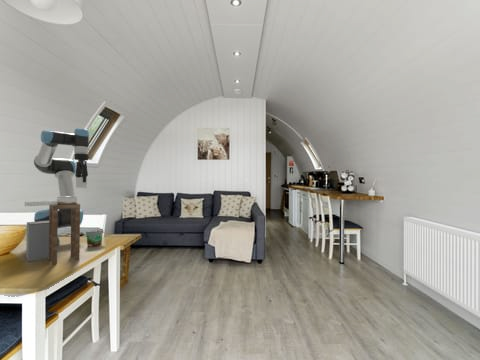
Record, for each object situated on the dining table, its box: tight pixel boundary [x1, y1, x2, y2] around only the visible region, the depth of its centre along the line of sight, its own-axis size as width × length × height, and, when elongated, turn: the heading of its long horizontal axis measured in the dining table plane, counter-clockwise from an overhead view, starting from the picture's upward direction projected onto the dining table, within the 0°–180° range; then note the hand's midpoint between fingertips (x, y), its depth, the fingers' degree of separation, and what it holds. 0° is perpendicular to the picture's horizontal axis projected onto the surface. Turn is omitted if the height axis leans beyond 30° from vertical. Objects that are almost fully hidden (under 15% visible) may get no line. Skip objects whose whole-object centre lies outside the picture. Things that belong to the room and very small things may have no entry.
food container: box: [85, 228, 105, 248], centre depth 166 cm, size 12×6×10 cm, turn 168°
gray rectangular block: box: [25, 221, 49, 263], centre depth 139 cm, size 8×10×20 cm
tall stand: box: [48, 203, 81, 265], centre depth 136 cm, size 10×12×30 cm
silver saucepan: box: [24, 195, 78, 207], centre depth 132 cm, size 9×22×4 cm, turn 136°
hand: (81, 187), depth 157 cm, fingers open, 13 cm apart
